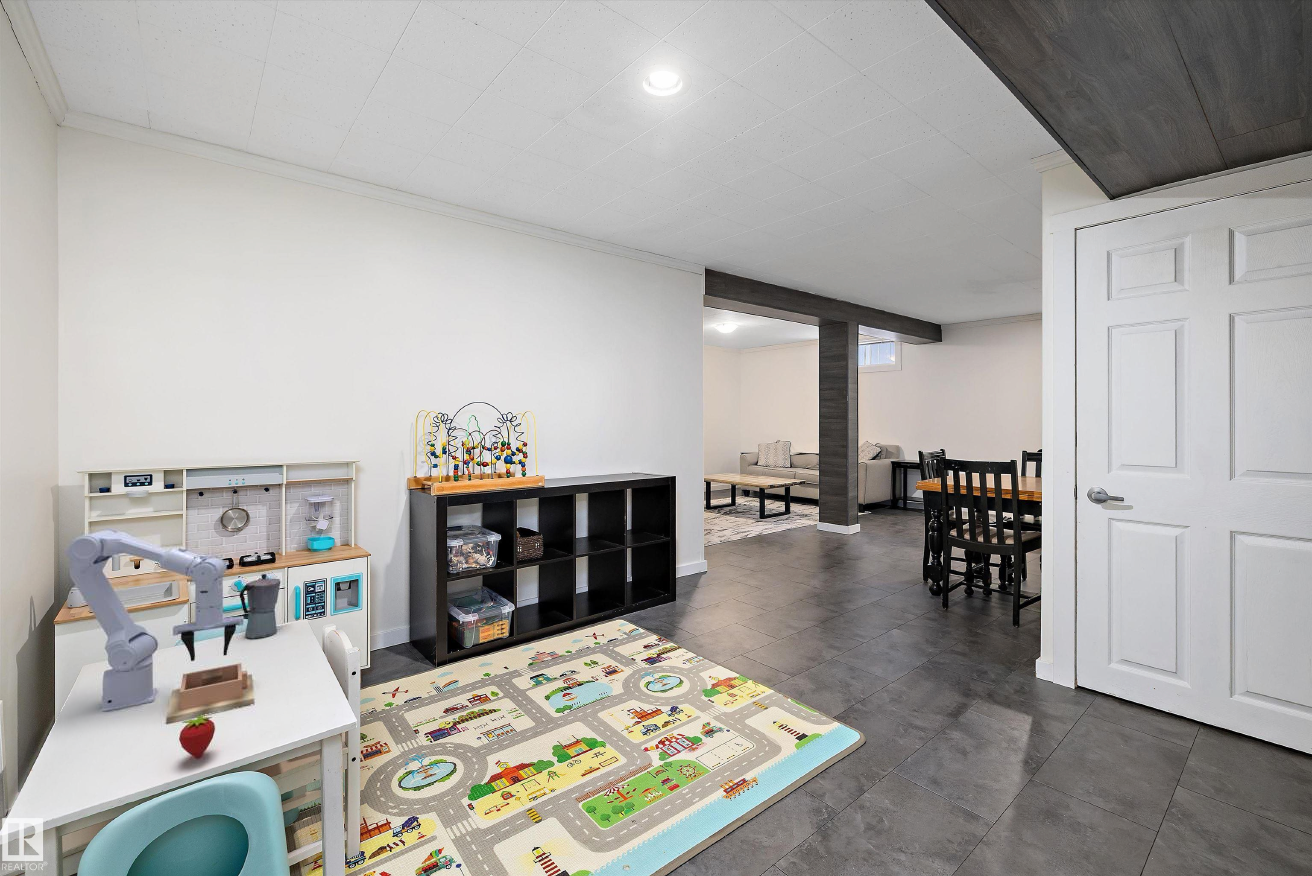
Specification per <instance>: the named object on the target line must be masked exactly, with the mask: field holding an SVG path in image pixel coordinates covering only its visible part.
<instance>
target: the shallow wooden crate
mask: <svg viewBox="0 0 1312 876" xmlns="http://www.w3.org/2000/svg"><path fill="white" fill-rule="evenodd" d="M217 670H222V683H217V684H212V685H207V686H202V675H203V673H207V672H212V671H217ZM247 675H248V670H242V663H241V662H240V663H239V662H238V663H236V664H229V665H225V666H219V667H215V668H214V667H213V668H210V669H204V670H198V671H192V672H189V673H188V672H187V673H183V674H182V678H181V683H180V684H181V685H180V688H179V689H180V711H181V710H186V709H190V708H195V707H199V706H204V705H209V704H213V703H218V702H222V701H227V700H231V699H236V698H241V697H242V688H243V687H247ZM234 679H235V680H234ZM229 680H232V681H229ZM225 681H227V682H225ZM200 686H202V687H200ZM195 687H197V688H195ZM190 688H192V689H190Z"/></svg>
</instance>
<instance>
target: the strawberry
mask: <svg viewBox="0 0 1312 876" xmlns="http://www.w3.org/2000/svg"><path fill="white" fill-rule="evenodd" d="M194 713H195V712H194ZM195 714H197V713H195ZM197 715H198V714H197ZM196 718H197V719H187V720H182V721H181V723H183V724H185V723H186V725H185V726H184V727H183V728H182V730H181V731H180V733H179V738H178V740H179V743H180V746H181V748H182V749H183V750H184V751H186V753H188V754H189V755H191V756H193V757H194V759H201V757H202V756H203V755H204V754H205V752H206V750H207V749H208V747H209V746H210V744H211V742H212V740H213V738H214V735H215V731H216V725H215V723H214V721H213V720H211V719H212V718H213V716H210V717H207V716H206V717H205V715H202V716H200V717H196ZM187 723H188V724H187Z"/></svg>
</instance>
